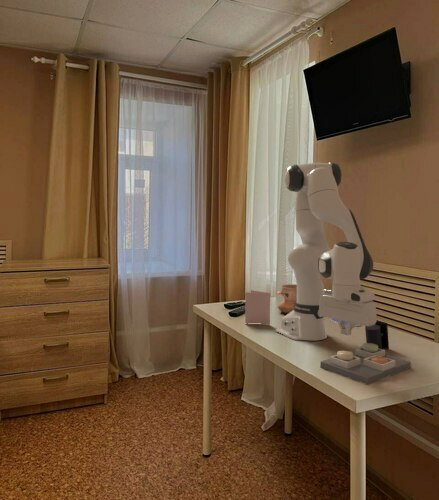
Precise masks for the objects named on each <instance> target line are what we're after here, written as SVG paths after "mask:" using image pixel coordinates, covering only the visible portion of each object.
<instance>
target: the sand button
mask: <svg viewBox="0 0 439 500" xmlns="http://www.w3.org/2000/svg"><path fill="white" fill-rule="evenodd" d="M352 352H353V351H349V350H339V351H337V352H336V353H337V354H336V355H337V359H340V360H343V361H346V362H348V361H351V360H353V353H352Z"/></svg>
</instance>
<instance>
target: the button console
mask: <svg viewBox="0 0 439 500" xmlns="http://www.w3.org/2000/svg"><path fill="white" fill-rule="evenodd" d="M351 352H352V353H353V360H351V361H348V362H346V361H343V360H340V359H337V354H334V355H331V356H329V358H328V359H324V360H321V361H320V364H319V365H320V367H319V368H321V369H324V370H327V371H330V372H332V373H335V374H337V375H339V376H340V375H341V376H343V377H345V378H349V379H351V380H354V381H357V382H359V383H361V384H365V385H367V386H368V385H370V384H373V383H375V382H377V381H381V380H383V379H385V378H388V377H390V376H393V375H396V374H398V373H400V372H403V371H405V370H409V369H411V366H412V365H411V363H412V362H411V361H409V360H407V359H402V358H399V357H396V356H392V355H388V354H386V350H385V349H382V348H381V349H379V348H378V352H375V353H370V352H367V351H363V346H360V347H358V348H355V350H354V351H351ZM374 356H379V357H384V358H386V359H387V360H388V362H387V363H384V364H380V363H376V362H373V361H371V357H374Z"/></svg>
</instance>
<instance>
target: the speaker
mask: <svg viewBox="0 0 439 500" xmlns="http://www.w3.org/2000/svg"><path fill="white" fill-rule="evenodd" d="M364 329H365V342H366V343H372V344H376V345H378V348H379V349H382V348H384V349H387V350H389V349H390V346H389V343H390V342H389V329H388V322H384V321H381V320H376V323H375V324H374V325H372V326H365V328H364Z"/></svg>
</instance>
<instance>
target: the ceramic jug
mask: <svg viewBox="0 0 439 500" xmlns="http://www.w3.org/2000/svg"><path fill="white" fill-rule="evenodd" d="M280 288H281V291H277V292H276V294H277V295H281V296H283V298H284V299H283V300H282V301H281V302H279V303H278V305H277V309H279V311H280V312H282V313H283V314H286V313H287V314H289V313H290V312H291V311H293V309H294V306H292V305H294V304H292V303H296V302H297V284H296V283H295V284H294V283H293V284H292V283H289V284H282V285H280ZM287 314H286V315H287Z"/></svg>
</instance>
